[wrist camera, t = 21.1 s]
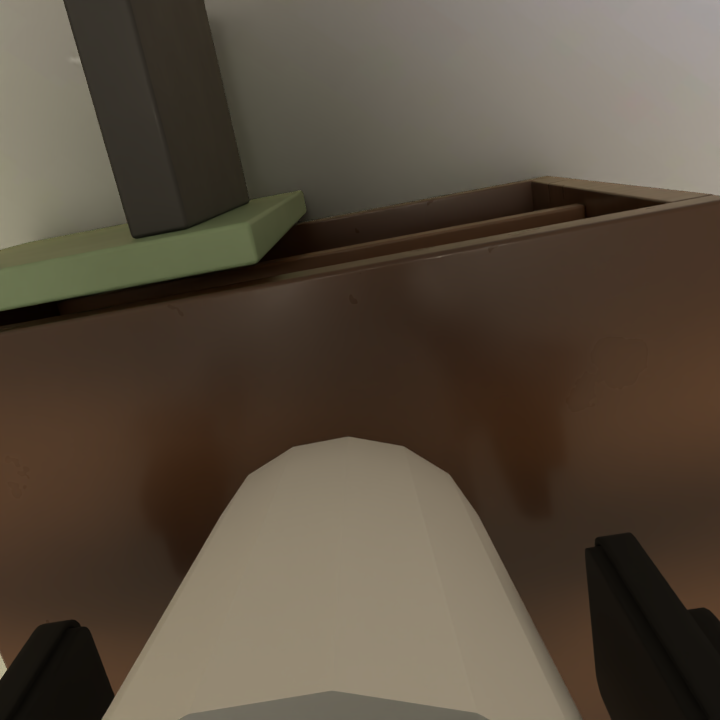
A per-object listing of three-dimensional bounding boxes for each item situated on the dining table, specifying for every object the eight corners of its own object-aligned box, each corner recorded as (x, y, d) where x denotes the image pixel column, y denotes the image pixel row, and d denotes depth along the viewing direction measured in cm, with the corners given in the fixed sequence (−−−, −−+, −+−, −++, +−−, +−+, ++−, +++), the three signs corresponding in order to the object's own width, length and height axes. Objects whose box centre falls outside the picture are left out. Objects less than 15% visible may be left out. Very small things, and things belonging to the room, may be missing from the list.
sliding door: (-33, 61, 21) (-431, -33, 11) (263, -1, 21) (159, -167, 10) (35, 264, 23) (-241, 356, 13) (307, 212, 23) (259, 263, 12)
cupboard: (108, 258, 24) (-132, 356, 12) (548, 175, 23) (739, 196, 11) (193, 540, 27) (70, 822, 16) (576, 478, 26) (743, 729, 15)
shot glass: (123, 481, 13) (-136, 835, 6) (447, 353, 12) (553, 600, 5) (270, 730, 15) (195, 1206, 8) (558, 634, 14) (740, 1075, 7)
